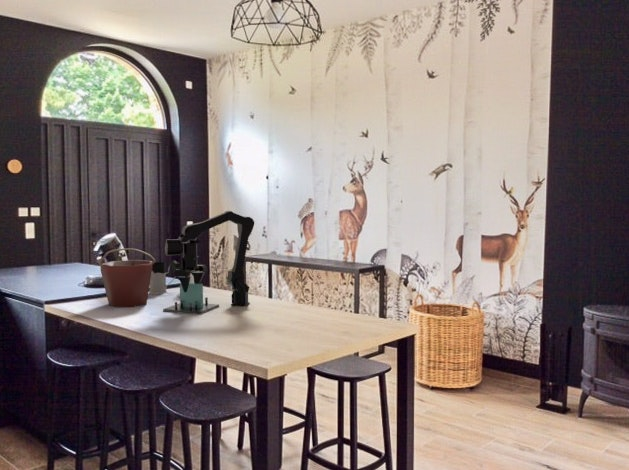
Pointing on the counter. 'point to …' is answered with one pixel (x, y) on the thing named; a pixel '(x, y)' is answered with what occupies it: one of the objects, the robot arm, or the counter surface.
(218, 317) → the counter surface
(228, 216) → the robot arm
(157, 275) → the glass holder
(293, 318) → the counter surface
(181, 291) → the teal plate
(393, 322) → the counter surface
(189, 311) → the dish rack
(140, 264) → the bucket
